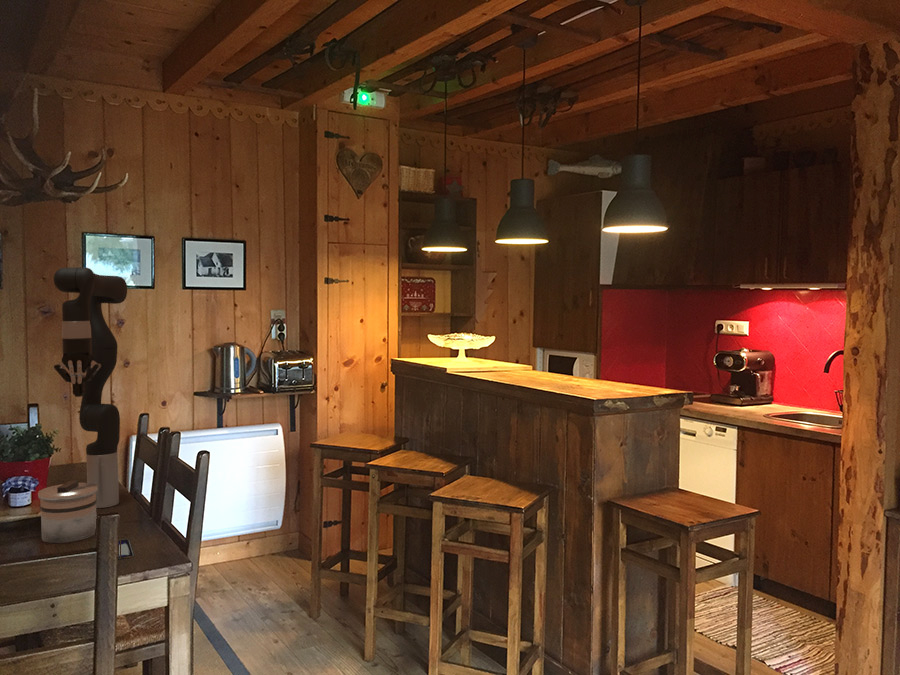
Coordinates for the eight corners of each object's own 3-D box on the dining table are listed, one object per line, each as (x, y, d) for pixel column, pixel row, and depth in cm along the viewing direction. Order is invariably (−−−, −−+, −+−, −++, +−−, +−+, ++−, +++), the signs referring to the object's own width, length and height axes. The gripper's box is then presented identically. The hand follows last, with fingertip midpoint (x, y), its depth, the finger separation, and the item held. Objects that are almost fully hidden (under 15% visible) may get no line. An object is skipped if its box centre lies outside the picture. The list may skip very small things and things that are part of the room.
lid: (53, 487, 217) (52, 478, 217) (105, 486, 218) (105, 477, 218) (28, 501, 202) (27, 491, 202) (84, 499, 203) (84, 490, 203)
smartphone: (103, 561, 188) (99, 543, 202) (103, 564, 188) (99, 546, 202) (134, 556, 192) (128, 538, 205) (134, 559, 192) (129, 541, 205)
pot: (55, 528, 217) (53, 487, 217) (105, 526, 218) (104, 486, 218) (31, 544, 203) (29, 500, 202) (85, 542, 204) (84, 499, 204)
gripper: (105, 335, 218) (107, 394, 219) (58, 336, 217) (60, 395, 218) (95, 337, 210) (97, 397, 211) (47, 337, 209) (49, 398, 210)
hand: (78, 396), depth 214 cm, fingers closed
